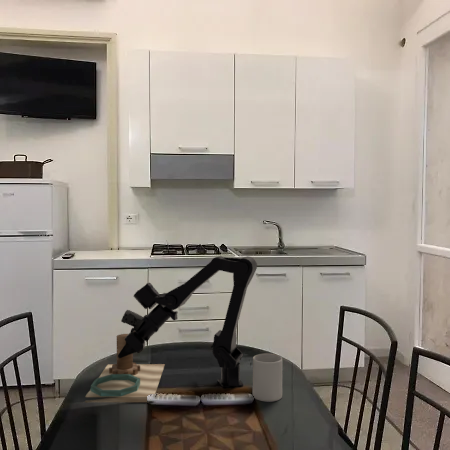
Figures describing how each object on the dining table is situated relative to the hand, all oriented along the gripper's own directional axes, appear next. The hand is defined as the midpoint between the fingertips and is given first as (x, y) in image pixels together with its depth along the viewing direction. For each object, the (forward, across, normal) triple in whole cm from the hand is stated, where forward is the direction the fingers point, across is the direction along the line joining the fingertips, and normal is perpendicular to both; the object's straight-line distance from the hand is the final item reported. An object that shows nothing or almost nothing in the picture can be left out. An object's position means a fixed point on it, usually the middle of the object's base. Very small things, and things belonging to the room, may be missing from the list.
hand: (120, 354), depth 148 cm
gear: (+3, 0, +5) cm, 6 cm away
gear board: (+2, +6, +8) cm, 10 cm away
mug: (-27, +14, +37) cm, 48 cm away
